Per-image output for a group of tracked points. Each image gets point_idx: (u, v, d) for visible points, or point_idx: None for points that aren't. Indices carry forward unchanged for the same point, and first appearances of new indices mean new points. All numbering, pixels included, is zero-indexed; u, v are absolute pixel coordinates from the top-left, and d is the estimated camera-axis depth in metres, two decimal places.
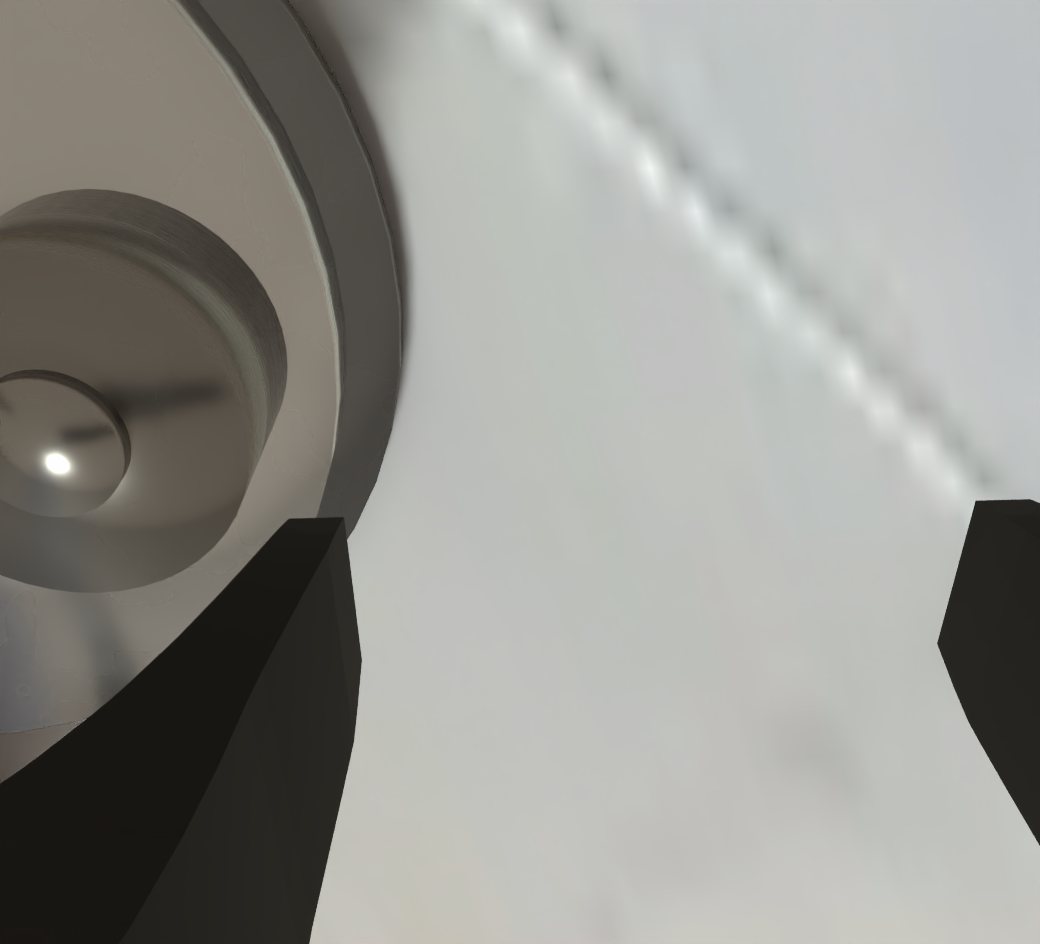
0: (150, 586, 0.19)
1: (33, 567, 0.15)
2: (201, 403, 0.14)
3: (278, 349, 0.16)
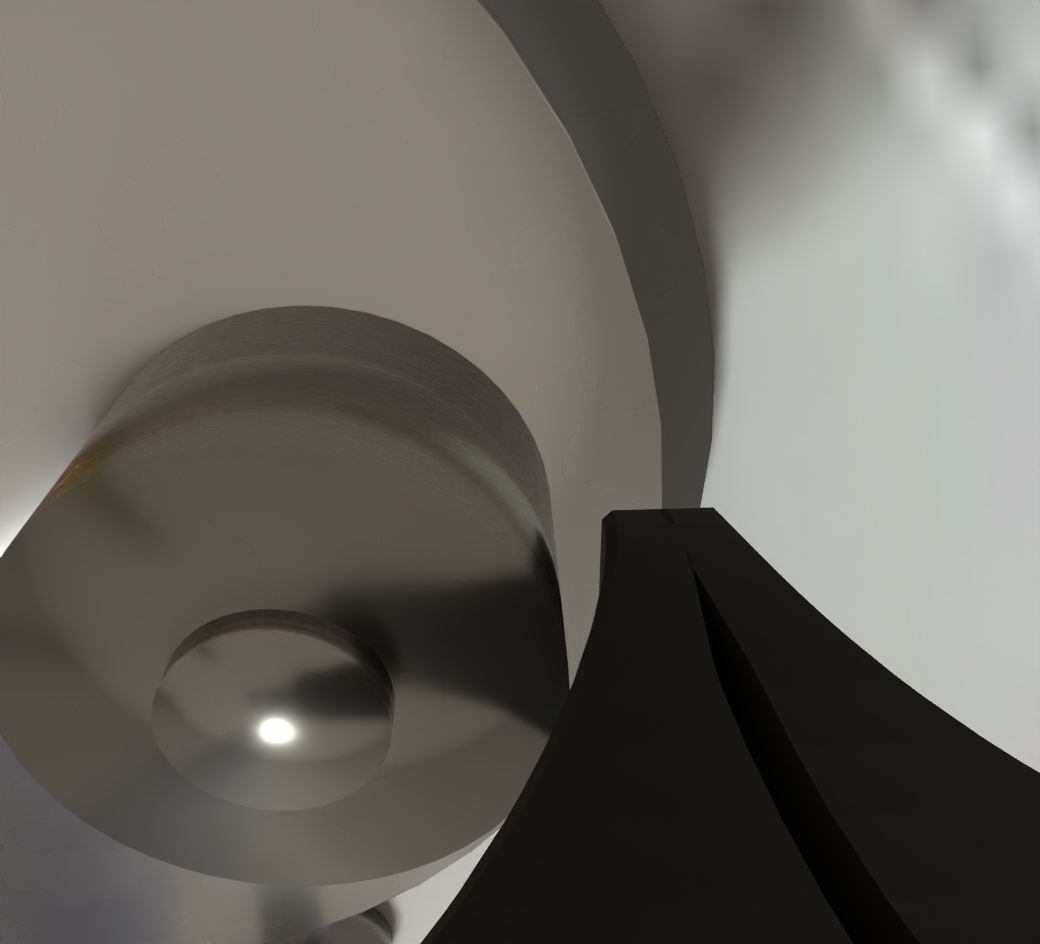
0: None
1: (226, 857, 0.10)
2: (510, 651, 0.09)
3: None
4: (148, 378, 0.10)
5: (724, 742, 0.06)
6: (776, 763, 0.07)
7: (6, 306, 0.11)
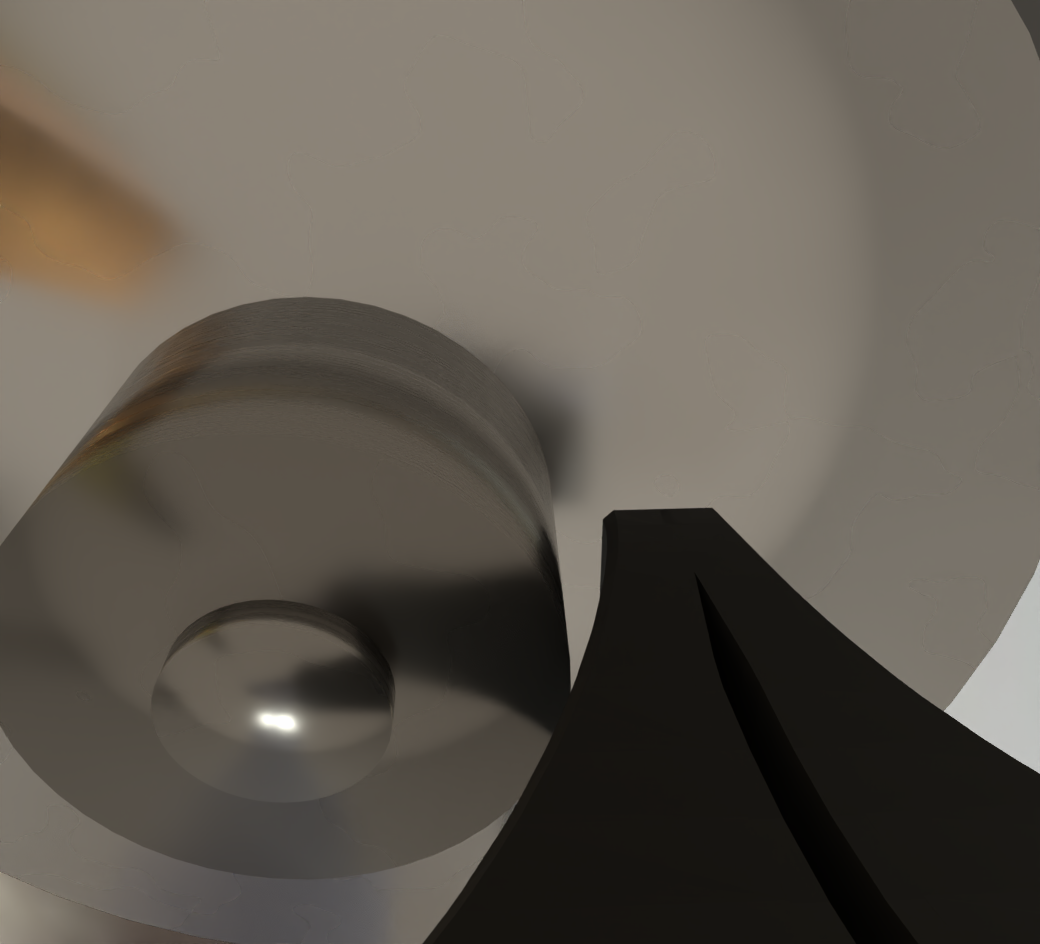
0: None
1: (220, 848, 0.10)
2: (513, 646, 0.09)
3: None
4: (154, 365, 0.10)
5: (726, 742, 0.06)
6: (774, 764, 0.07)
7: (475, 296, 0.11)
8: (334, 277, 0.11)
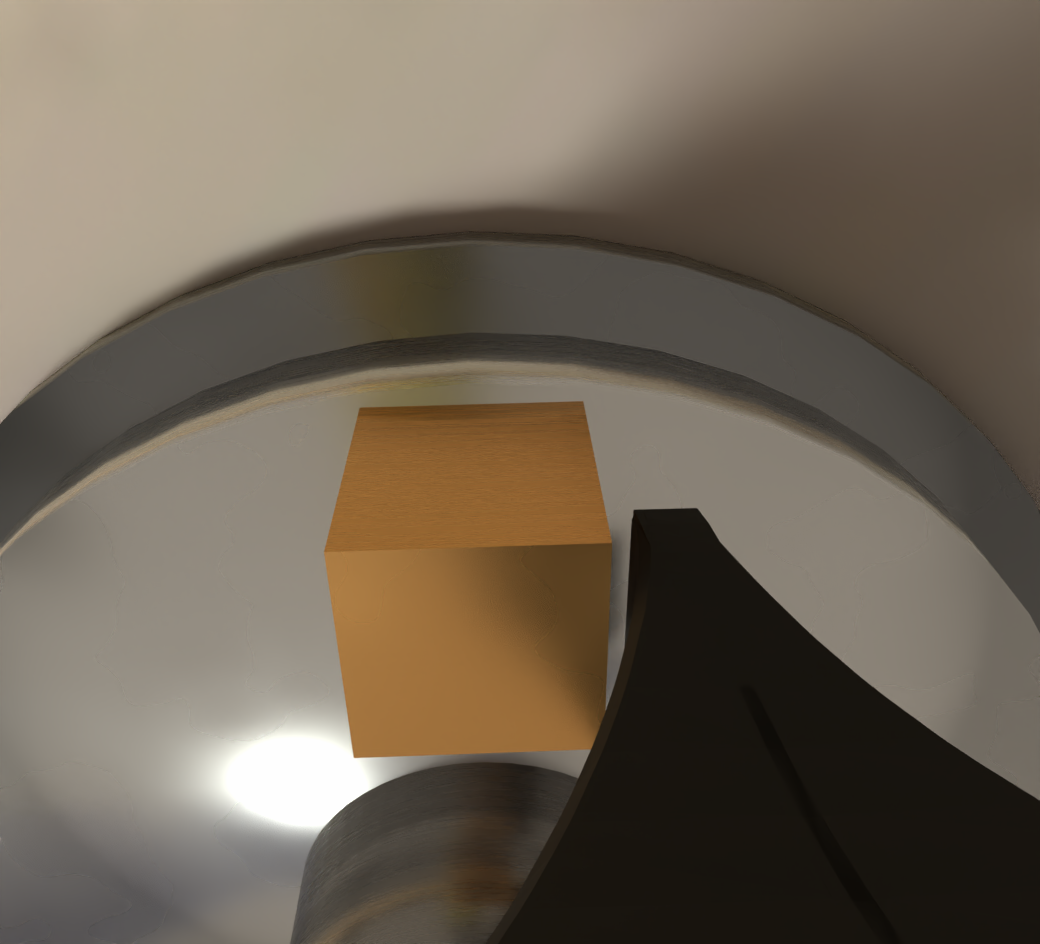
0: None
1: None
2: None
3: None
4: (533, 819, 0.13)
5: (772, 740, 0.06)
6: None
7: None
8: None
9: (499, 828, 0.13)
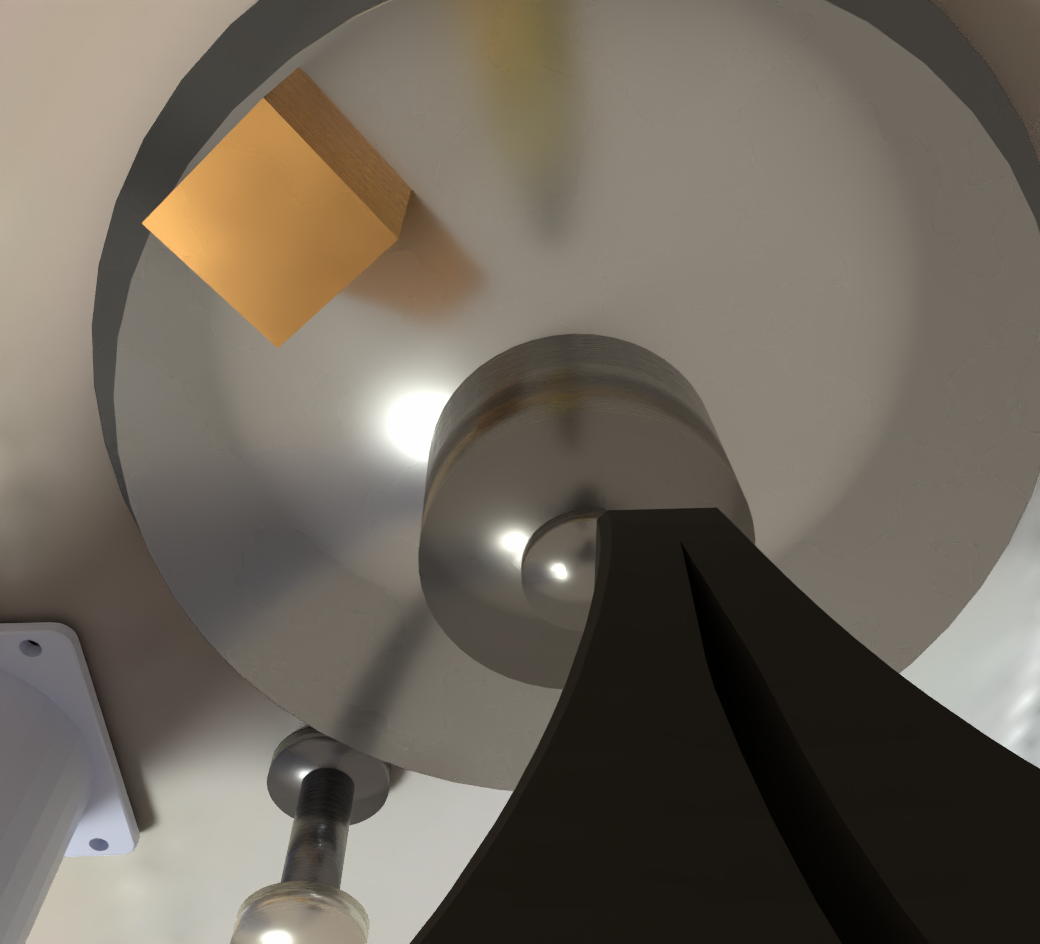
0: None
1: (520, 665, 0.17)
2: None
3: None
4: (511, 370, 0.17)
5: (716, 742, 0.06)
6: (781, 763, 0.07)
7: (692, 342, 0.18)
8: (611, 324, 0.17)
9: (488, 387, 0.17)
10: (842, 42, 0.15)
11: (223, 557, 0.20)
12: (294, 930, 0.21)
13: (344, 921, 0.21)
